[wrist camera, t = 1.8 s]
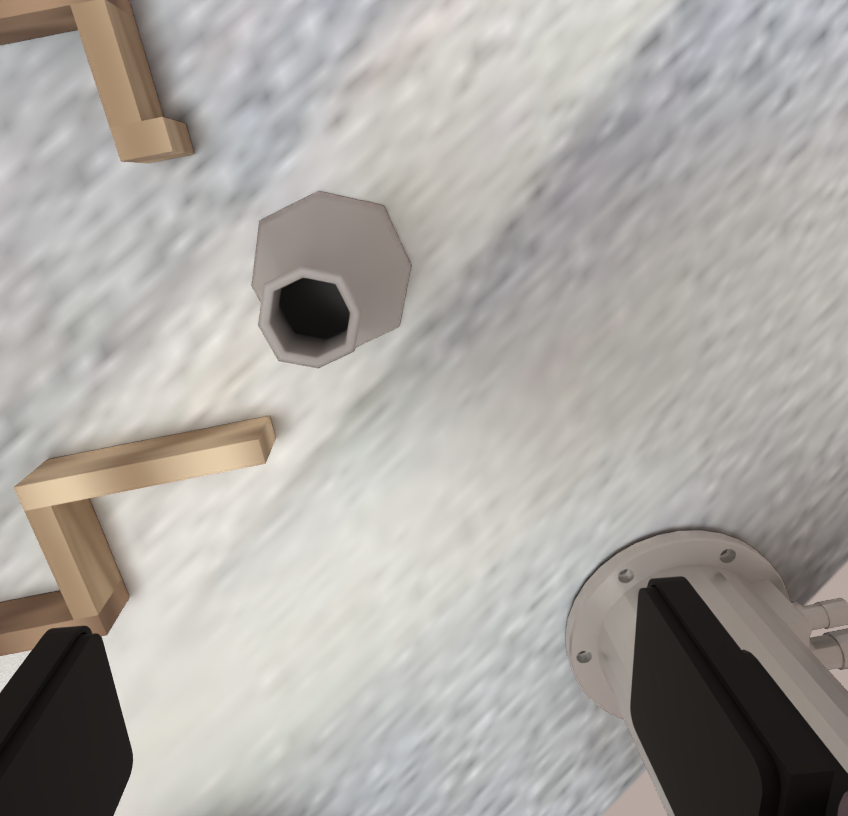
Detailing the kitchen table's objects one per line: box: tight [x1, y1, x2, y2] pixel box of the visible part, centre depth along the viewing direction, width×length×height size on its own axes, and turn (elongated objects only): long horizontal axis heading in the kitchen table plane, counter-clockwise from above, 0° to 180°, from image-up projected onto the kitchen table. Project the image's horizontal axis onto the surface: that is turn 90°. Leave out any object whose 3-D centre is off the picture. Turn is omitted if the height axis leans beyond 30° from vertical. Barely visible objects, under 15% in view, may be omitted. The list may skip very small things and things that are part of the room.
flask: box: [251, 191, 411, 368], centre depth 24 cm, size 7×7×10 cm
